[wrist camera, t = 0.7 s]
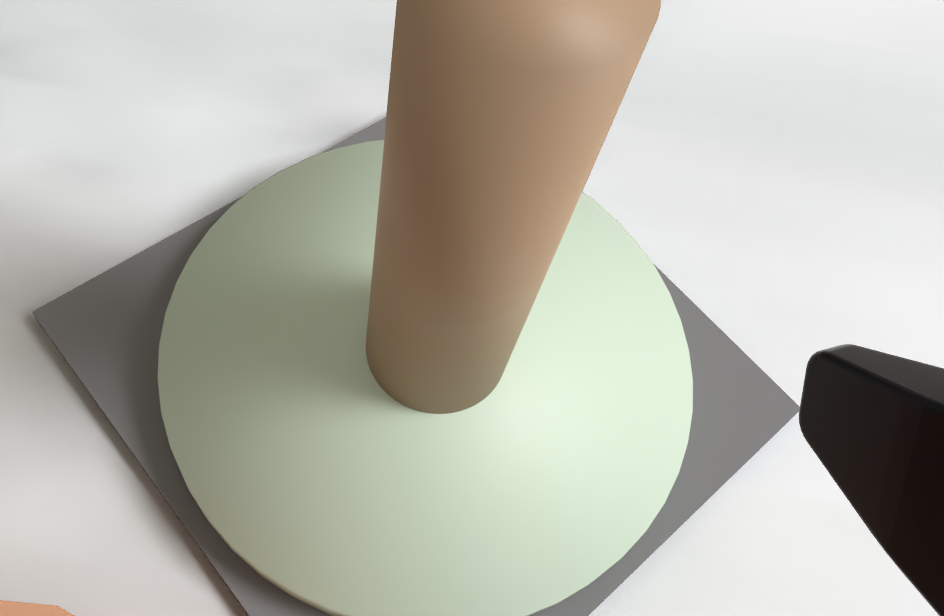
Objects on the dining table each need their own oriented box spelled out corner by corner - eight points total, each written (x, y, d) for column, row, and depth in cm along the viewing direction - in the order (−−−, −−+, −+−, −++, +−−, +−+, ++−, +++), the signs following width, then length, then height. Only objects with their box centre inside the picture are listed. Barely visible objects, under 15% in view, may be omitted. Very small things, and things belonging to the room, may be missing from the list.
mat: (795, 413, 27) (801, 408, 26) (387, 808, 20) (388, 809, 20) (460, 84, 31) (461, 76, 31) (36, 318, 24) (32, 311, 24)
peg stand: (779, 406, 26) (1170, 82, 14) (391, 774, 20) (493, 765, 8) (460, 91, 30) (550, -369, 18) (58, 315, 24) (-212, -156, 12)
